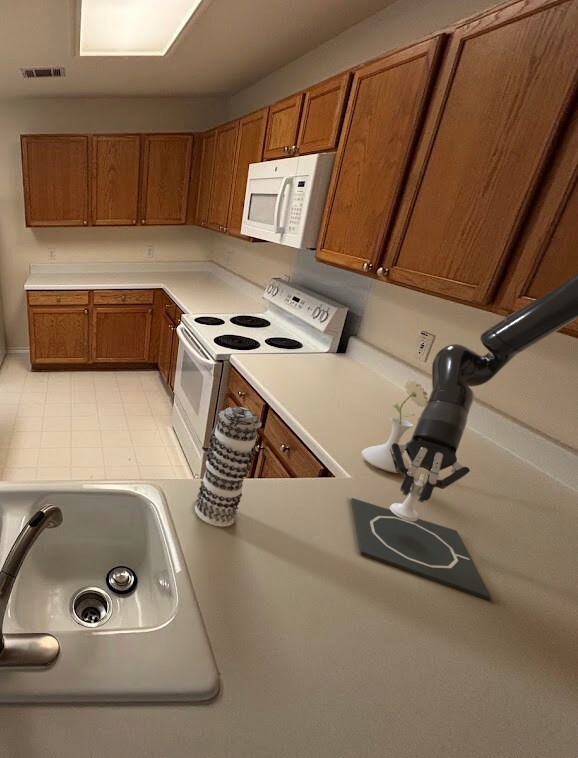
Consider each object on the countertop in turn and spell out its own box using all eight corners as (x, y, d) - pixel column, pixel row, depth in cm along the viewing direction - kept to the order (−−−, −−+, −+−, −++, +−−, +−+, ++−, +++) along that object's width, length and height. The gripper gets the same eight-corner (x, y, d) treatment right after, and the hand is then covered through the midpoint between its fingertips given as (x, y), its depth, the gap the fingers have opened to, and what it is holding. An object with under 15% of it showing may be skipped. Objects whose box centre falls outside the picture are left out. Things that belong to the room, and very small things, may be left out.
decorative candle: (203, 494, 96) (227, 397, 87) (242, 513, 91) (272, 413, 82) (185, 512, 90) (209, 410, 80) (226, 534, 84) (257, 427, 75)
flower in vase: (413, 482, 109) (453, 396, 99) (363, 468, 113) (397, 385, 104) (400, 459, 120) (436, 380, 111) (355, 447, 124) (386, 370, 115)
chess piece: (415, 511, 89) (435, 473, 85) (419, 524, 85) (440, 485, 81) (388, 502, 91) (406, 464, 87) (390, 514, 87) (409, 475, 83)
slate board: (455, 533, 91) (456, 530, 90) (489, 600, 74) (491, 597, 74) (350, 500, 99) (352, 497, 98) (360, 554, 82) (361, 550, 82)
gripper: (404, 408, 90) (376, 477, 86) (489, 432, 82) (462, 510, 78) (397, 422, 96) (371, 487, 92) (476, 446, 87) (451, 518, 83)
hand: (413, 497), depth 85 cm, fingers closed on chess piece
